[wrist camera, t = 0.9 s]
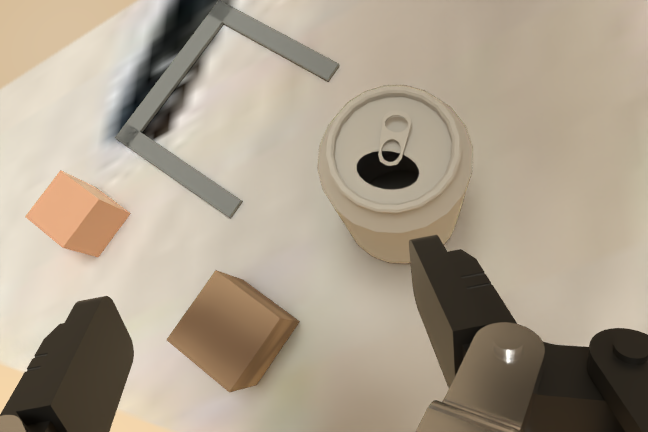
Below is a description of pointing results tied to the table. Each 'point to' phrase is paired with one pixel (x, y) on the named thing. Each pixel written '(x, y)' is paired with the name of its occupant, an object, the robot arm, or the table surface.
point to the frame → (176, 72)
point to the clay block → (77, 215)
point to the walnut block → (232, 332)
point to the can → (396, 169)
